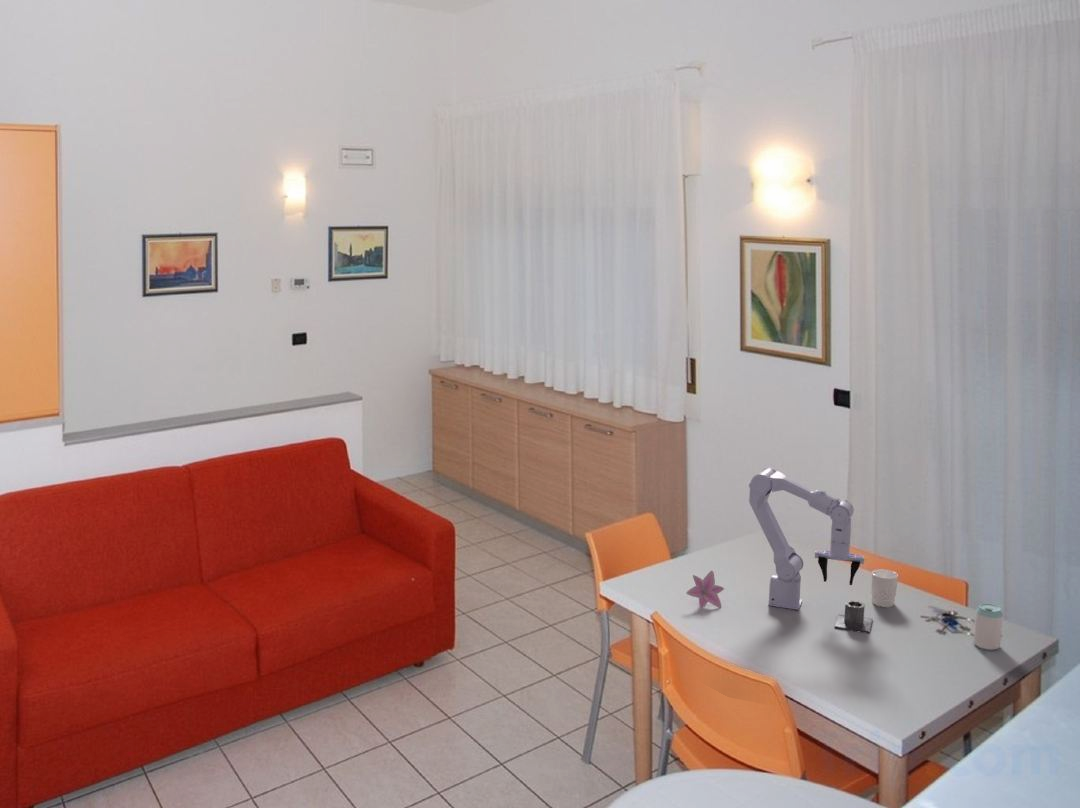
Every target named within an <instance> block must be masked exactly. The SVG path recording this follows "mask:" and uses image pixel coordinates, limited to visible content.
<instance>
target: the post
mask: <svg viewBox="0 0 1080 808" xmlns="http://www.w3.org/2000/svg"><path fill="white" fill-rule="evenodd" d="M851 606H854V607H859V606H858V605H851ZM844 618H845V613H838V614H837V617H836V621H835V625H834V628H835V629H837V630H844V629H845V630H844V631H850V630H853V632H857V631H860V632H859V633H863V632H866V633H865V634H870V632H871V627H872V623H873V618H870V617H865V616H864V622H863V626H858V627H855V626H849V625H847V624H846V623H844Z"/></svg>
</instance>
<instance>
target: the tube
mask: <svg viewBox="0 0 1080 808" xmlns="http://www.w3.org/2000/svg"><path fill="white" fill-rule="evenodd" d="M851 605H858V606H859V607H854V606H851ZM865 606H866V605H865V603H863V602H862V601H860V600H852V599H851V600H846V601H845V605H844V614H845V618H844V623H846V624H847V625H849V626H855V627H858V626H863V622H864V617H865Z"/></svg>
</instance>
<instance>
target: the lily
mask: <svg viewBox="0 0 1080 808" xmlns="http://www.w3.org/2000/svg"><path fill="white" fill-rule="evenodd" d="M692 579H693V581H694V583H695V584H694V585H695V586H693V587H691V588H690V589H689V590H687V591H686V595H687V596H691V597H693V598H694V597H695V598H697V599H698V602H699V603H698V604H699V609H700V610H702V609H703V608H705V606H707V604H708V603H709V604H711V605H713V606H715V607H717V608H719V609H721V608H722V603H721V600H720V599H721V598H719V596H718V594H720V593H721V592H723V591H724V589H725V588H724V587H722V586H720V585H718V584H717V585H716V584H715V583H716V581H715V580H716V579H715V574H714V570H710V571H709V572H708V573H707V574H706V575H705V576H704V577H703V579H702V578H701V577H699V576H697V575H695V574H693V575H692Z"/></svg>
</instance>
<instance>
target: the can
mask: <svg viewBox="0 0 1080 808" xmlns="http://www.w3.org/2000/svg"><path fill="white" fill-rule="evenodd" d="M978 606H979V607H978V608H977V609H976V610H975V622H974V629H973V630H974V631H973V641H972V642H973V644H974V645H975V646H976V647H977V646H978V647H977V648H979V649H981V650H985V651H995V650H998V649H999V648H1000V647H1001V641H1002V640H1001V639H1002V638H1001V637H1002V631H1003V630H1002V629H1003V628H1002V627H1003V619H1004V614H1003V612H1002V608H1001V607H999V605H997V604H992V603H981V604H980V605H978ZM994 649H995V650H994Z"/></svg>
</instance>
